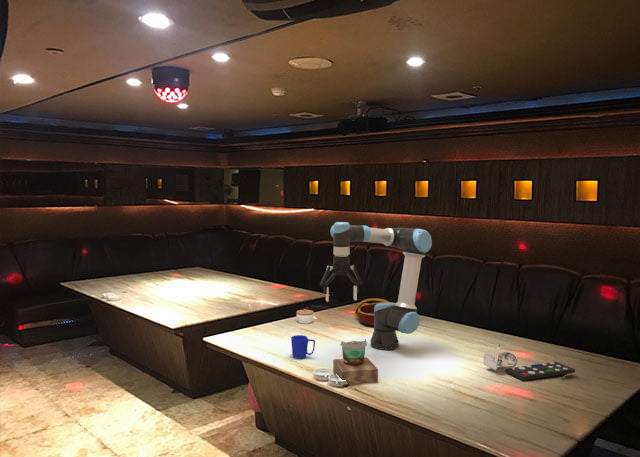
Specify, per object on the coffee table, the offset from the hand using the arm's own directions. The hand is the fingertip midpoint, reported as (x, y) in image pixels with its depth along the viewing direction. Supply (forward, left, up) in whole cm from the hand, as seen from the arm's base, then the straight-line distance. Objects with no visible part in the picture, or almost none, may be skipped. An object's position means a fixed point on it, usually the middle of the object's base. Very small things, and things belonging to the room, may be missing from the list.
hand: (341, 300), depth 234 cm
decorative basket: (-44, -76, -32) cm, 93 cm away
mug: (+15, -16, -32) cm, 38 cm away
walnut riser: (-3, +15, -31) cm, 35 cm away
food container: (-3, +15, -26) cm, 30 cm away
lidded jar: (+3, -79, -32) cm, 85 cm away
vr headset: (-73, +17, -32) cm, 82 cm away
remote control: (-90, +23, -32) cm, 98 cm away
